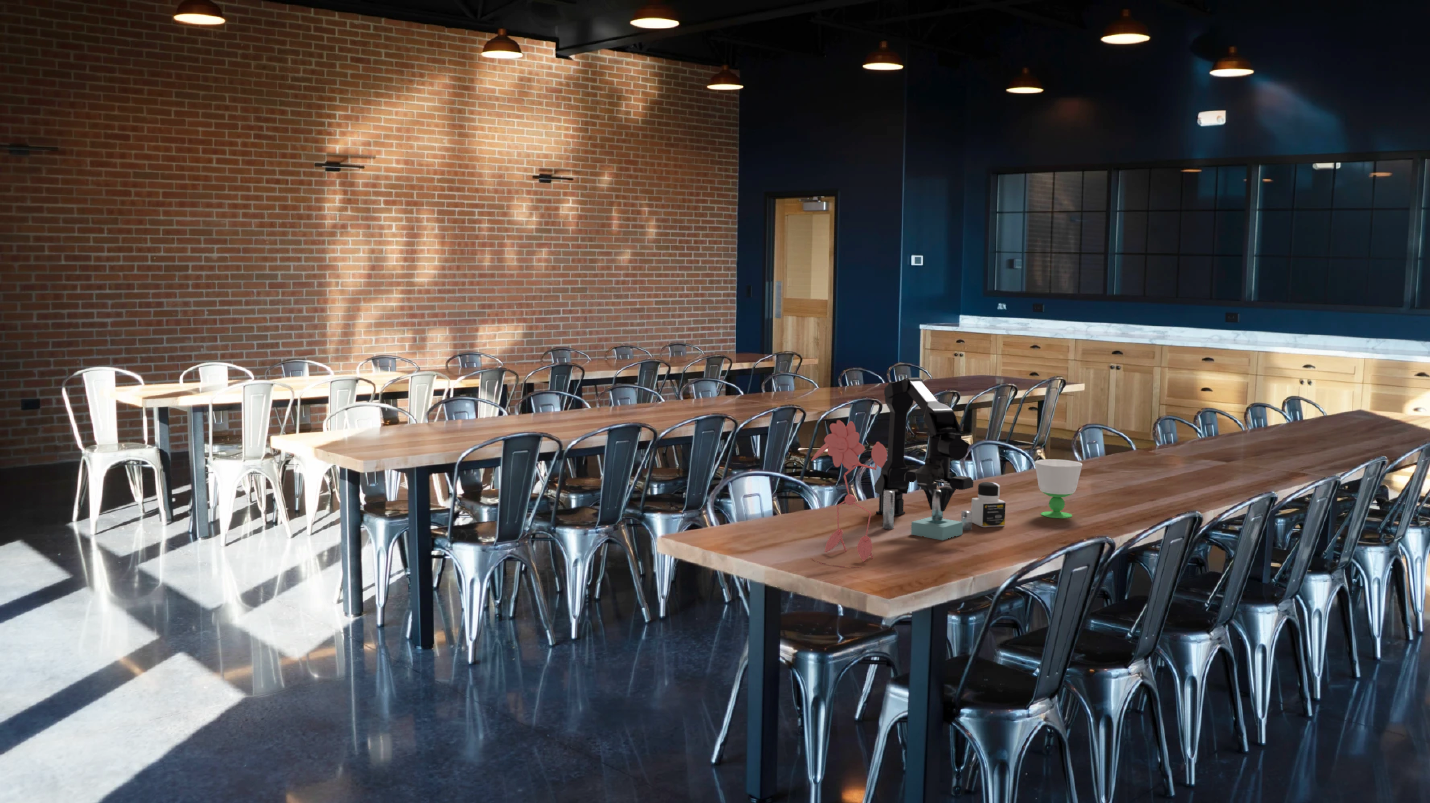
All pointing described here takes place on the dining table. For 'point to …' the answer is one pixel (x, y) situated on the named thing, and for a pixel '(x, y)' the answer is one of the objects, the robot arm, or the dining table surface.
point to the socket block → (936, 528)
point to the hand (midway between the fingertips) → (937, 510)
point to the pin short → (966, 519)
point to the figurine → (845, 450)
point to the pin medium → (936, 505)
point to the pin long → (888, 509)
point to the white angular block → (988, 506)
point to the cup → (1057, 483)
